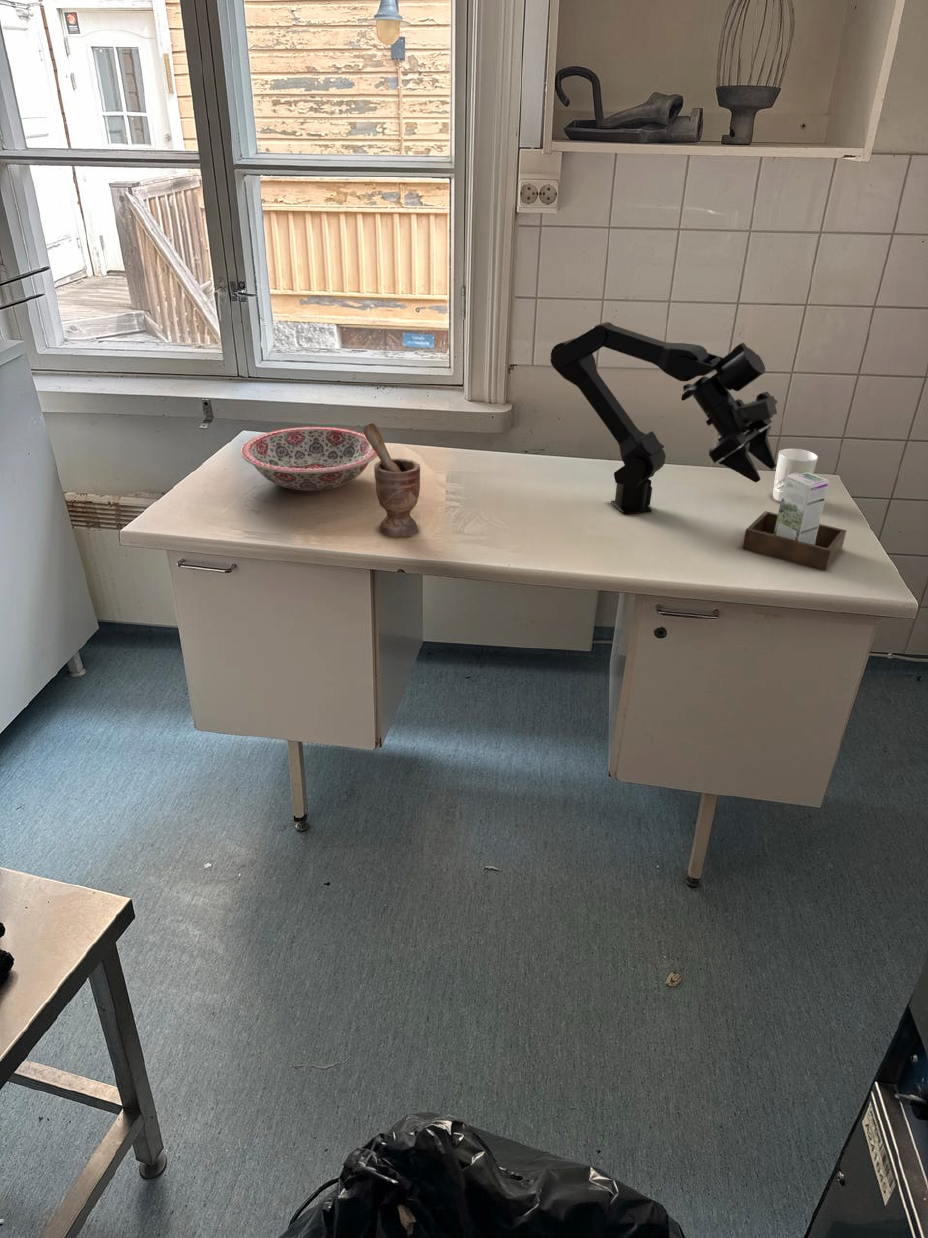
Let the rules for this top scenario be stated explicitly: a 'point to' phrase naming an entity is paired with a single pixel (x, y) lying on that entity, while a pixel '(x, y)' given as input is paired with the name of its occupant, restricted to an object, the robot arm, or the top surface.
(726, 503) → the top surface
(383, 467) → the mortar and pestle
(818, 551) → the crate
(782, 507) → the syrup box
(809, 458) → the white cup
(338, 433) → the ceramic bowl
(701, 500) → the top surface
